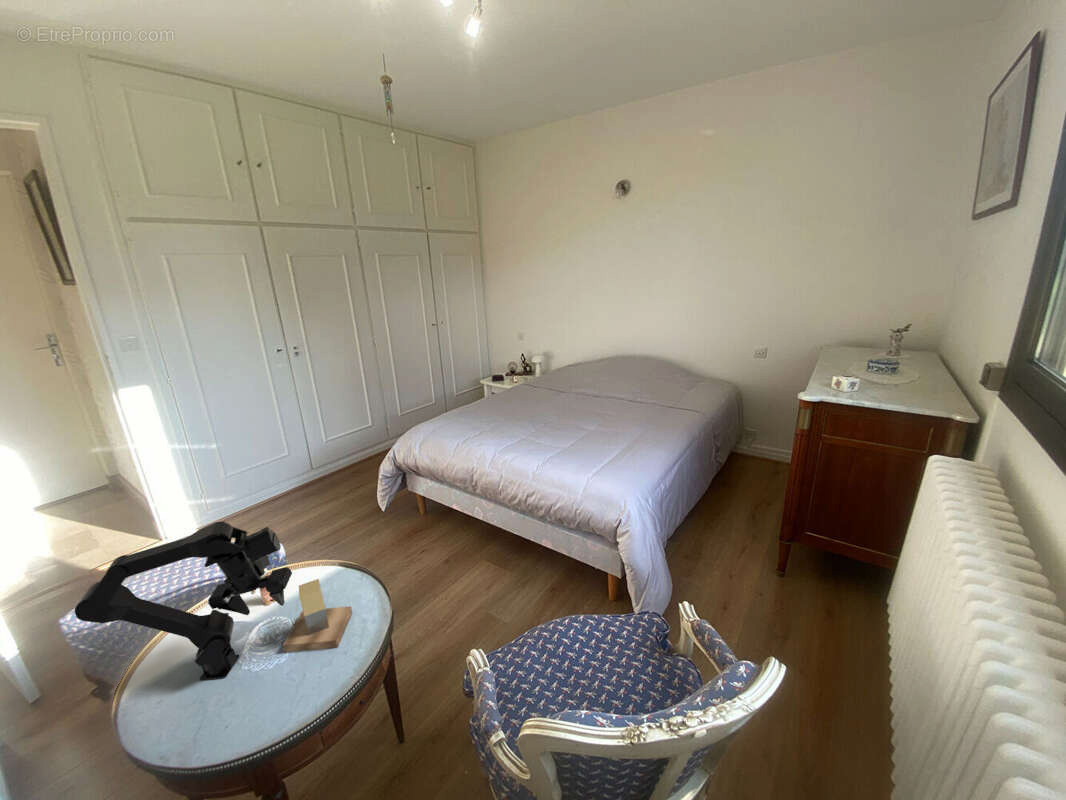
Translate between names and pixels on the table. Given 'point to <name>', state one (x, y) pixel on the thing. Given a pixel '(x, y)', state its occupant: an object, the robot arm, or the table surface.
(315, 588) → the yellow grey tall block
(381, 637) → the table surface
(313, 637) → the walnut plinth
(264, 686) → the table surface
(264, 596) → the grandmother figurine
